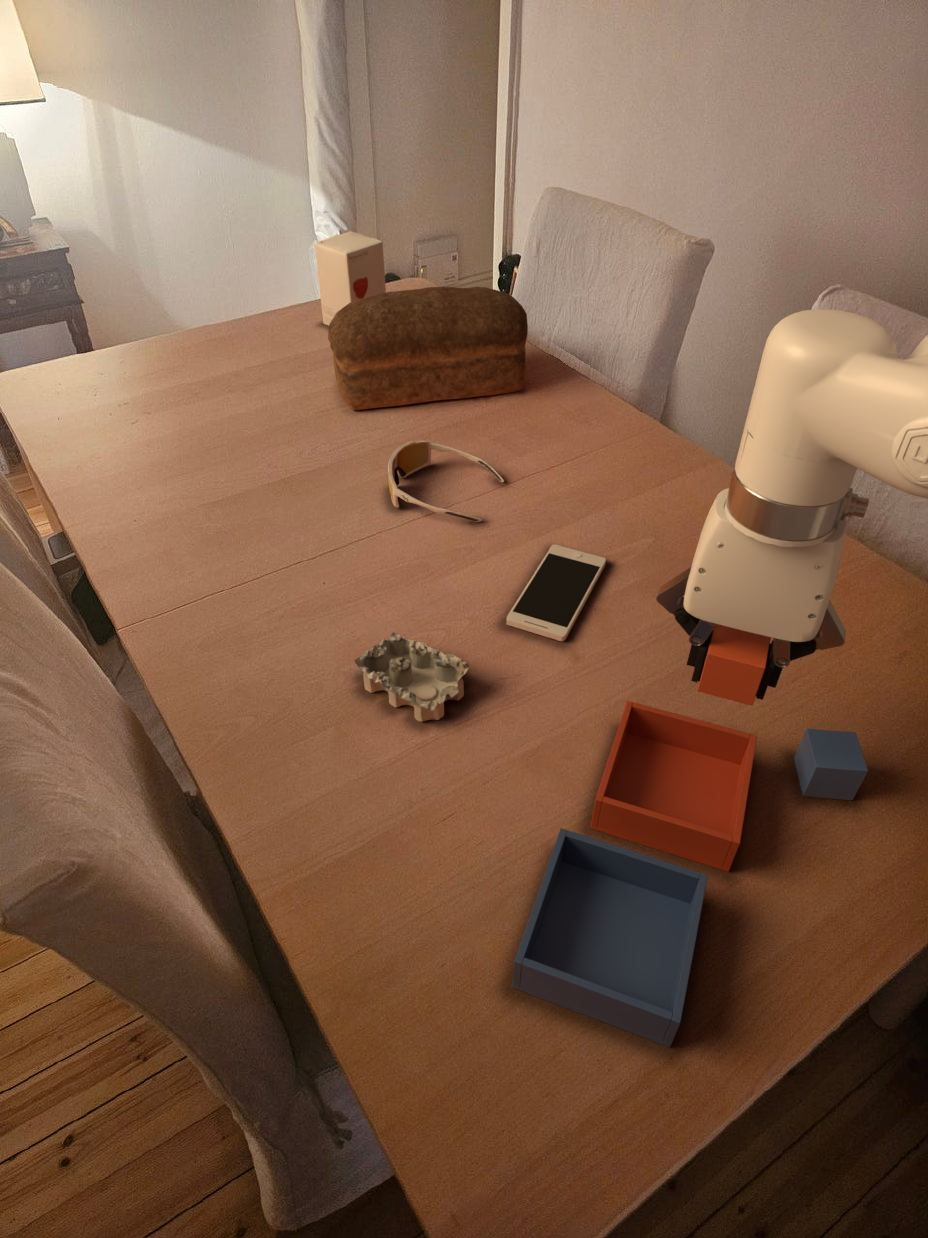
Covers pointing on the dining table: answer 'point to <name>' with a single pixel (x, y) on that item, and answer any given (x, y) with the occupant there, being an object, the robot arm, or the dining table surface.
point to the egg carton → (413, 675)
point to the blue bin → (612, 936)
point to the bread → (428, 346)
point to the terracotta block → (734, 664)
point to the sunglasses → (416, 458)
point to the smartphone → (556, 592)
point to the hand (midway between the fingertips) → (729, 677)
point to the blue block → (830, 764)
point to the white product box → (348, 271)
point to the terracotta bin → (676, 785)
